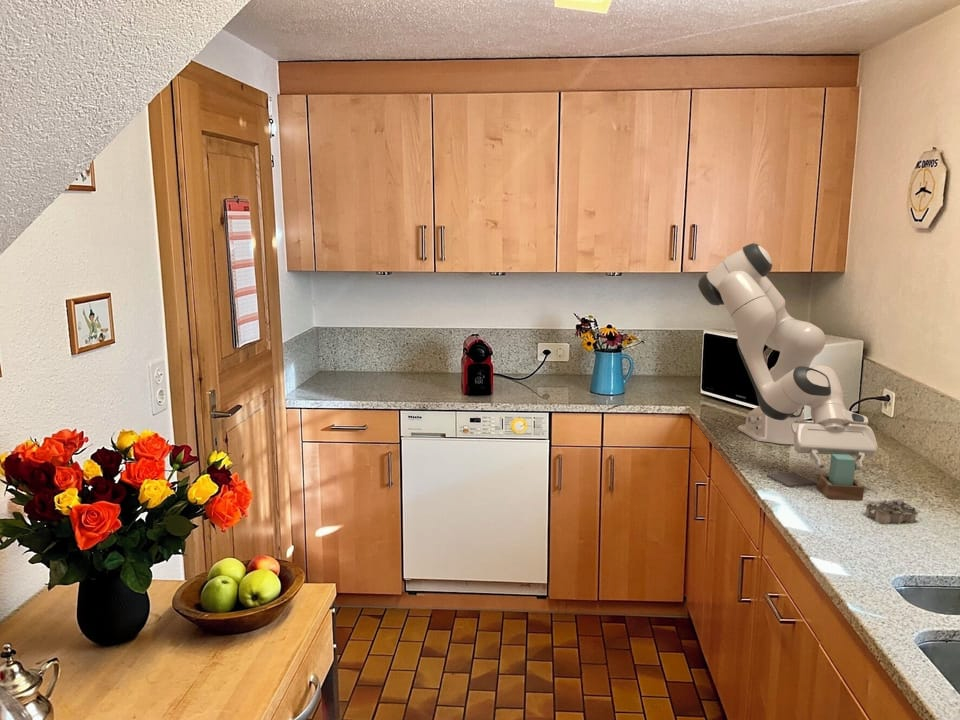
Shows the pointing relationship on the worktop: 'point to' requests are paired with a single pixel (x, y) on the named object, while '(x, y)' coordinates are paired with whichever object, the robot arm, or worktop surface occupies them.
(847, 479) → the teal block
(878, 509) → the egg carton
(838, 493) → the pocket holder
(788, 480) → the rubber mat
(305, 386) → the worktop surface
